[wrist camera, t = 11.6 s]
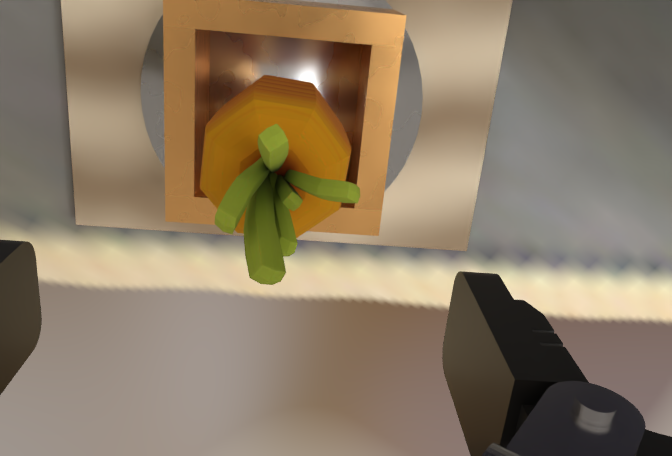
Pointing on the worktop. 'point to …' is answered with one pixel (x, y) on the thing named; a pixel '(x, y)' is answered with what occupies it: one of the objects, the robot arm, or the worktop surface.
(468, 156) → the base board
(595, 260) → the worktop surface
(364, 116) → the socket collar
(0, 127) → the worktop surface
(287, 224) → the carrot
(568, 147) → the worktop surface
